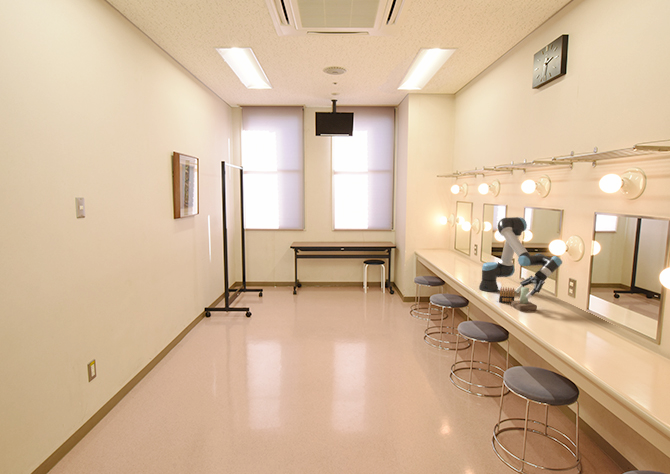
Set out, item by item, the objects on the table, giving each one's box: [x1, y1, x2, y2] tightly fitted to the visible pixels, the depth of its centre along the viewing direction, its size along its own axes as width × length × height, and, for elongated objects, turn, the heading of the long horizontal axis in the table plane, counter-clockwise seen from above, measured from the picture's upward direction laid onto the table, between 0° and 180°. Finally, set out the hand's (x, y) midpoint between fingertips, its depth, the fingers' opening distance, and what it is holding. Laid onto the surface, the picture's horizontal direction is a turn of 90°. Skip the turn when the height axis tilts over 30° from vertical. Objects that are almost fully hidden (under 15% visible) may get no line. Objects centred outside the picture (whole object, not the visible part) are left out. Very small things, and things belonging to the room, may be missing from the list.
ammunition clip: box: [498, 286, 515, 304], centre depth 272 cm, size 11×2×12 cm, turn 82°
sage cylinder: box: [519, 286, 530, 304], centre depth 258 cm, size 5×5×11 cm
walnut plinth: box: [510, 300, 538, 312], centre depth 259 cm, size 12×12×4 cm
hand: (521, 294), depth 258 cm, fingers open, 13 cm apart
